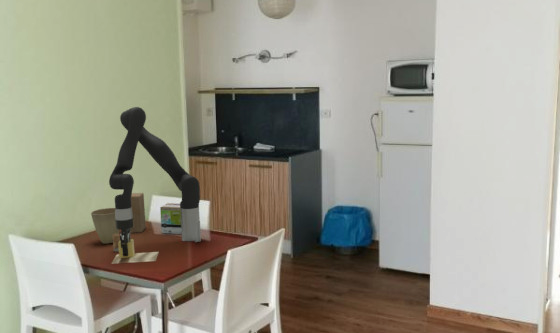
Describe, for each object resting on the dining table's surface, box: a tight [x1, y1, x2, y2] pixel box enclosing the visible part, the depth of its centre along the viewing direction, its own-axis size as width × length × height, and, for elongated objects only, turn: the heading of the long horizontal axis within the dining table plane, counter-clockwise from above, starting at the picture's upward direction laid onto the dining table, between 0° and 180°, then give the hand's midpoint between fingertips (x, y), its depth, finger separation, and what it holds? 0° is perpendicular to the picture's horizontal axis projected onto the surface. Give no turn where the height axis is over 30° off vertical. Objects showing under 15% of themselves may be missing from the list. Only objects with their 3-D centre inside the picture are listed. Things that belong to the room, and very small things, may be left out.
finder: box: [118, 238, 136, 258], centre depth 253 cm, size 6×5×7 cm
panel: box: [111, 251, 160, 265], centre depth 251 cm, size 19×14×1 cm
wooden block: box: [130, 192, 147, 234], centre depth 302 cm, size 10×10×20 cm
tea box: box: [159, 202, 182, 235], centre depth 297 cm, size 15×10×15 cm
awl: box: [112, 233, 120, 253], centre depth 262 cm, size 3×3×9 cm
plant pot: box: [90, 207, 121, 244], centre depth 282 cm, size 15×15×16 cm
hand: (126, 253), depth 253 cm, fingers open, 5 cm apart
